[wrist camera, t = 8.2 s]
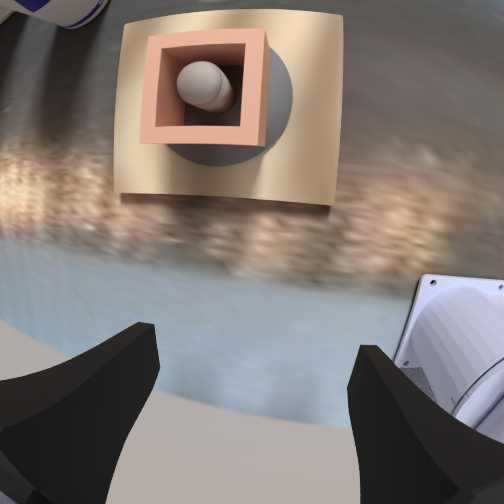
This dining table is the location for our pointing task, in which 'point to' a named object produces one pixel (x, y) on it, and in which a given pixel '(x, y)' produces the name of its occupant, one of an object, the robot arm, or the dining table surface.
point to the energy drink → (58, 10)
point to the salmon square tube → (220, 54)
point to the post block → (229, 112)
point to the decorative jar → (5, 14)
